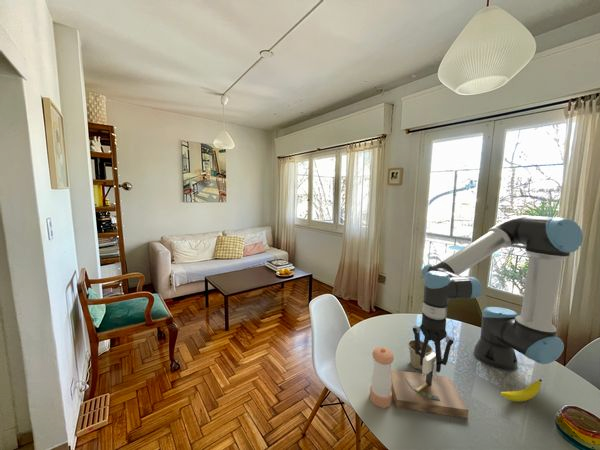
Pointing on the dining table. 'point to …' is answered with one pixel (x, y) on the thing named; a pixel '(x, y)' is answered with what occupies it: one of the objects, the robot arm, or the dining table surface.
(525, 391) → the banana
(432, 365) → the white angular block
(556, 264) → the robot arm
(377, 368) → the salt shaker
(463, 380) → the dining table surface
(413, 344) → the flower pot
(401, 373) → the tuner board
